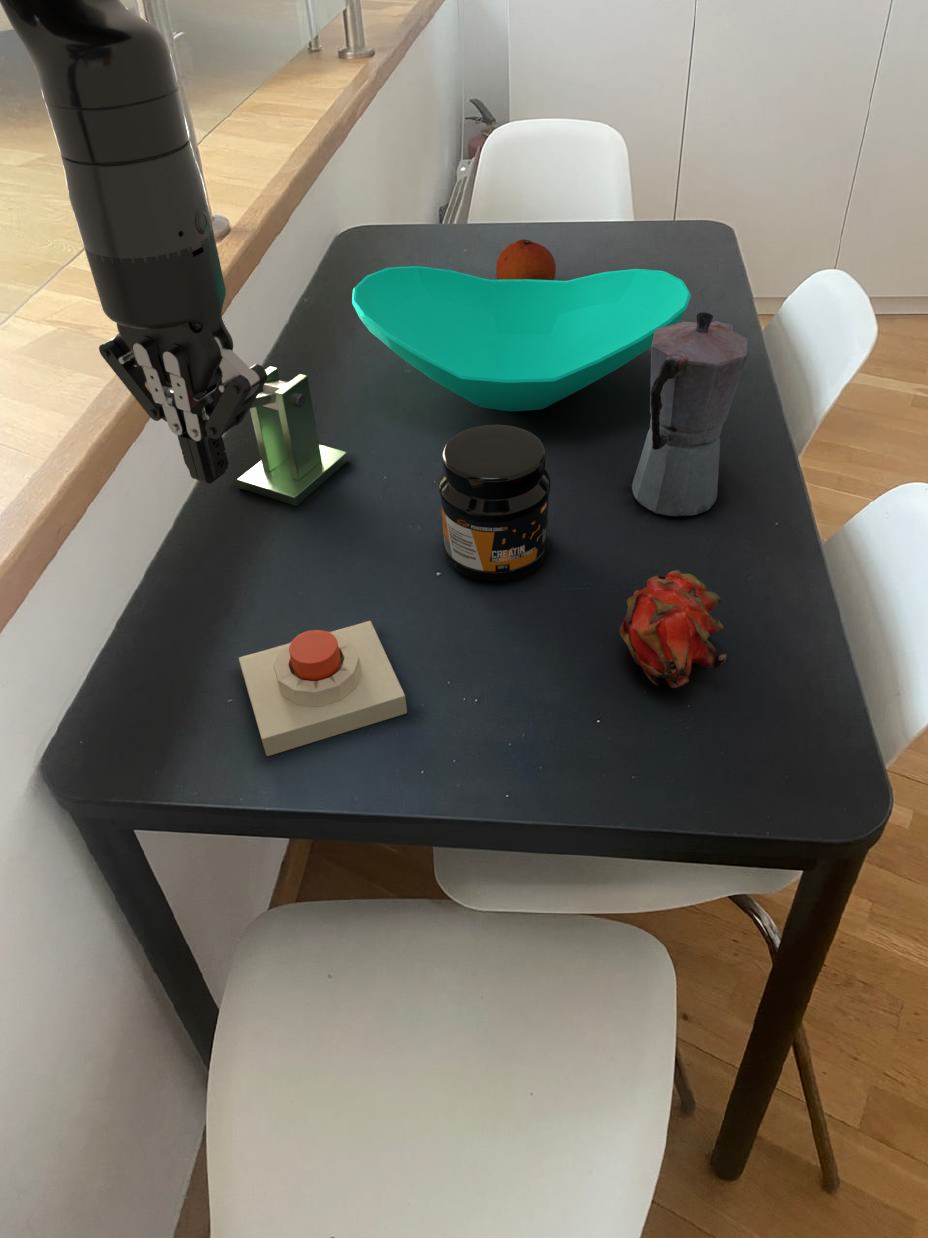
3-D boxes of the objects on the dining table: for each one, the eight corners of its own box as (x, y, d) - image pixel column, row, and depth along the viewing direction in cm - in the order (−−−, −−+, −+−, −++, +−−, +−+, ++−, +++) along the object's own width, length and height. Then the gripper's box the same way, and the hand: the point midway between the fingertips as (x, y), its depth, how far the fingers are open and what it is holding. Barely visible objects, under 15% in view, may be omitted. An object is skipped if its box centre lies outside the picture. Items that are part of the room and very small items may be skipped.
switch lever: (228, 429, 89) (228, 404, 88) (189, 417, 91) (188, 393, 89) (305, 409, 98) (306, 386, 97) (268, 399, 100) (269, 377, 99)
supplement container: (447, 591, 88) (440, 487, 80) (440, 525, 96) (433, 424, 88) (555, 582, 89) (559, 477, 81) (540, 517, 97) (542, 416, 88)
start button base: (266, 757, 74) (257, 724, 71) (243, 675, 81) (233, 642, 78) (407, 713, 77) (403, 680, 74) (373, 637, 84) (368, 605, 81)
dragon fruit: (672, 620, 86) (671, 729, 79) (601, 580, 83) (593, 688, 76) (740, 575, 80) (745, 688, 73) (666, 530, 77) (664, 642, 70)
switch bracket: (296, 506, 100) (277, 409, 92) (238, 488, 103) (215, 393, 95) (348, 460, 106) (334, 366, 98) (292, 444, 109) (275, 352, 101)
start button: (299, 686, 75) (295, 669, 73) (288, 655, 78) (283, 637, 76) (346, 673, 76) (343, 655, 74) (334, 641, 78) (330, 624, 77)
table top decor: (673, 346, 124) (686, 246, 115) (682, 458, 104) (698, 348, 95) (385, 339, 129) (376, 243, 120) (340, 445, 109) (324, 339, 100)
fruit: (563, 301, 136) (565, 246, 130) (505, 309, 134) (504, 254, 129) (545, 278, 142) (547, 225, 137) (490, 286, 141) (489, 232, 135)
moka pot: (742, 474, 101) (777, 297, 87) (688, 550, 91) (717, 365, 78) (661, 452, 105) (682, 279, 91) (601, 522, 95) (614, 341, 82)
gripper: (19, 232, 54) (104, 479, 66) (189, 270, 49) (249, 529, 61) (111, 193, 59) (176, 430, 71) (275, 224, 54) (315, 473, 66)
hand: (210, 475), depth 66 cm, fingers closed
